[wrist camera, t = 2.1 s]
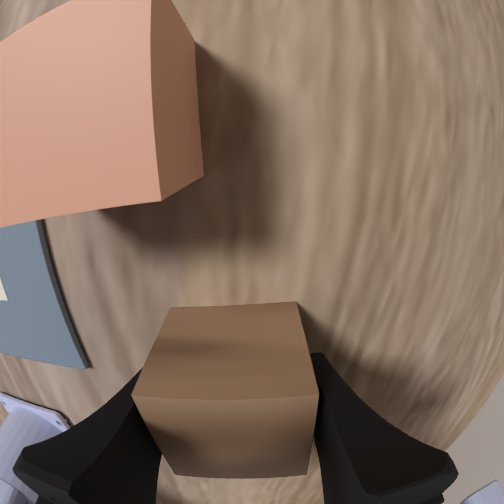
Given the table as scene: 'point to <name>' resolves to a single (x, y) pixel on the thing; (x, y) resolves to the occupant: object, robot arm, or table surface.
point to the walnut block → (231, 391)
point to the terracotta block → (97, 109)
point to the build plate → (33, 301)
